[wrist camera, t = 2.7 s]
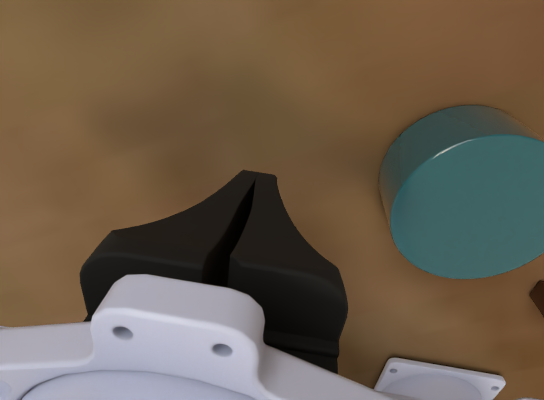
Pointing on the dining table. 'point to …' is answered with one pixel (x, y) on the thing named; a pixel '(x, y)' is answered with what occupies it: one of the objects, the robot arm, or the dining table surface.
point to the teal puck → (465, 193)
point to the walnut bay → (539, 296)
